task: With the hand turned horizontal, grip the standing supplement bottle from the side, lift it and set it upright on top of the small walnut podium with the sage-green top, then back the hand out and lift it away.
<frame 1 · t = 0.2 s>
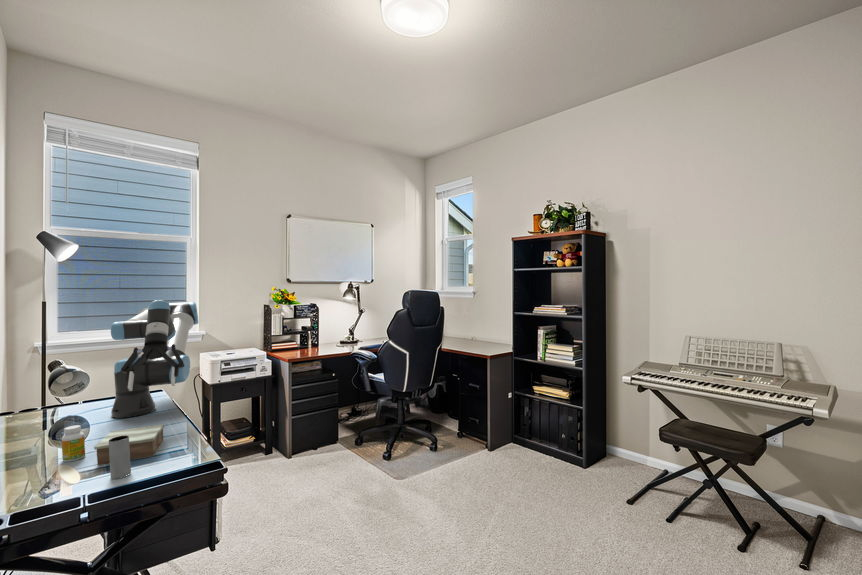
hand: (151, 387, 159), 15 cm above the table, tool tilted 35°, fingers open, 13 cm apart
grey hollow cylinder: (121, 476, 119), on the table
supplement bottle: (74, 459, 133), on the table
podium: (132, 452, 136), on the table
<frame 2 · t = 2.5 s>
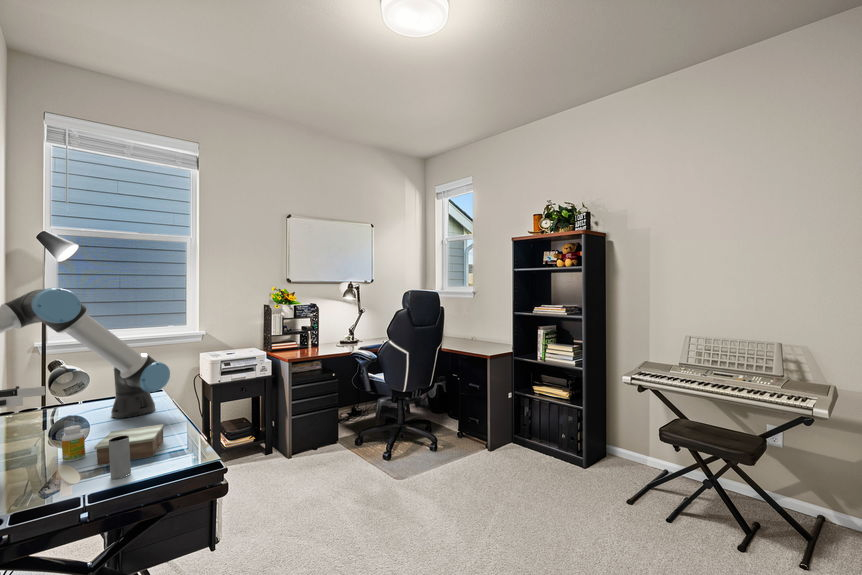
hand: (34, 395, 130), 21 cm above the table, tool horizontal, fingers open, 13 cm apart
nothing on the table moved.
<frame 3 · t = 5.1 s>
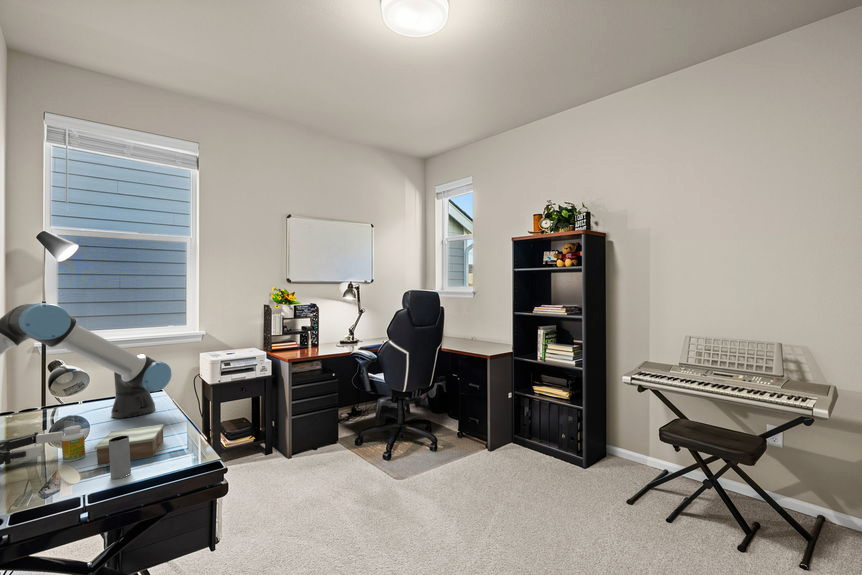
hand: (52, 443, 131), 6 cm above the table, tool horizontal, fingers open, 13 cm apart
nothing on the table moved.
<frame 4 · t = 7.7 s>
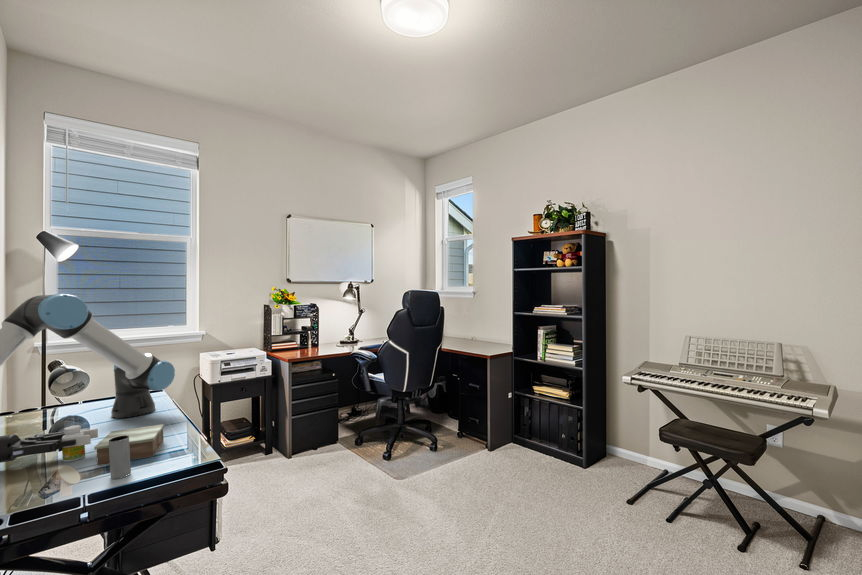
hand: (93, 436, 135), 6 cm above the table, tool horizontal, fingers closed on supplement bottle, 5 cm apart
supplement bottle: (74, 459, 133), on the table, touching gripper
everything else where it was.
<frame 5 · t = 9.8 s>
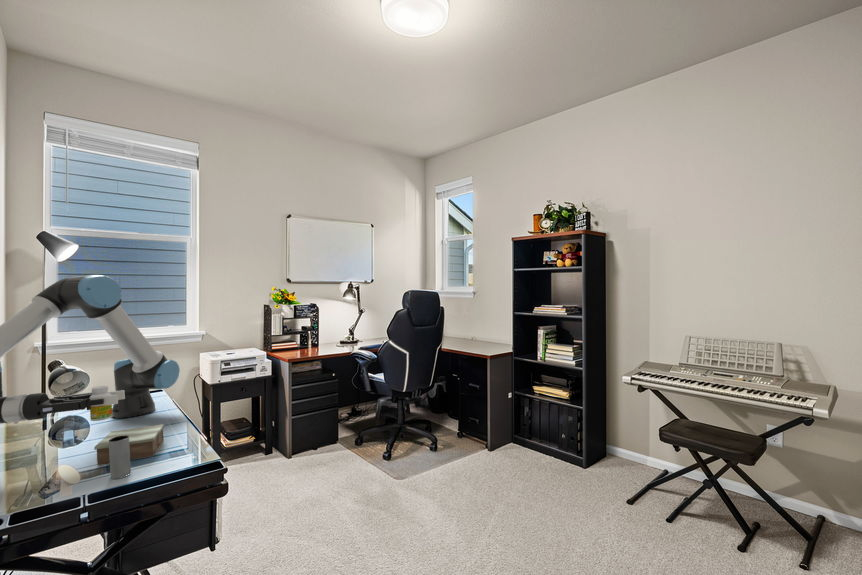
hand: (120, 396, 135), 18 cm above the table, tool horizontal, fingers closed on supplement bottle, 5 cm apart
supplement bottle: (101, 419, 133), point 12 cm above the table, touching gripper
everything else where it was.
when the fingers open (12 cm above the table, at t = 11.9 s): supplement bottle stays where it is, resting on podium.
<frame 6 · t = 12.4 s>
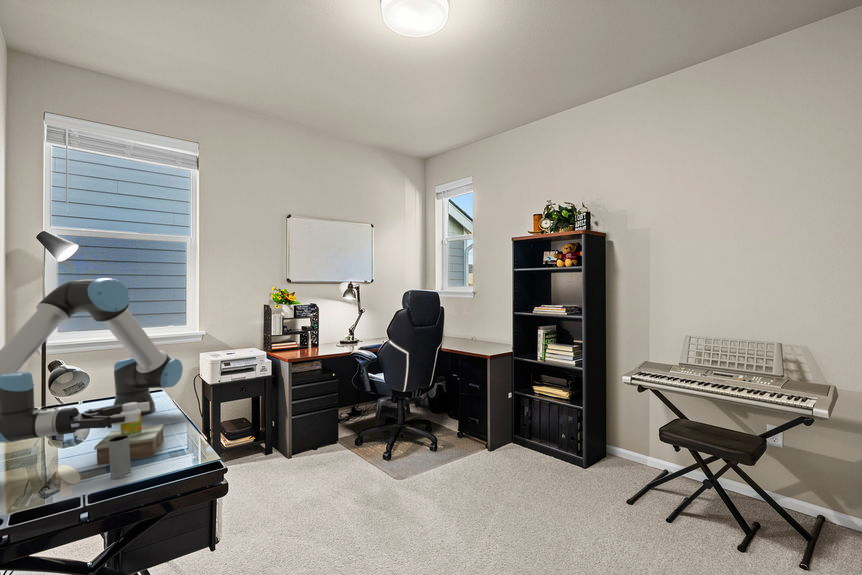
hand: (144, 411, 137), 12 cm above the table, tool horizontal, fingers open, 12 cm apart
supplement bottle: (131, 435, 136), point 5 cm above the table, touching podium
everything else where it was.
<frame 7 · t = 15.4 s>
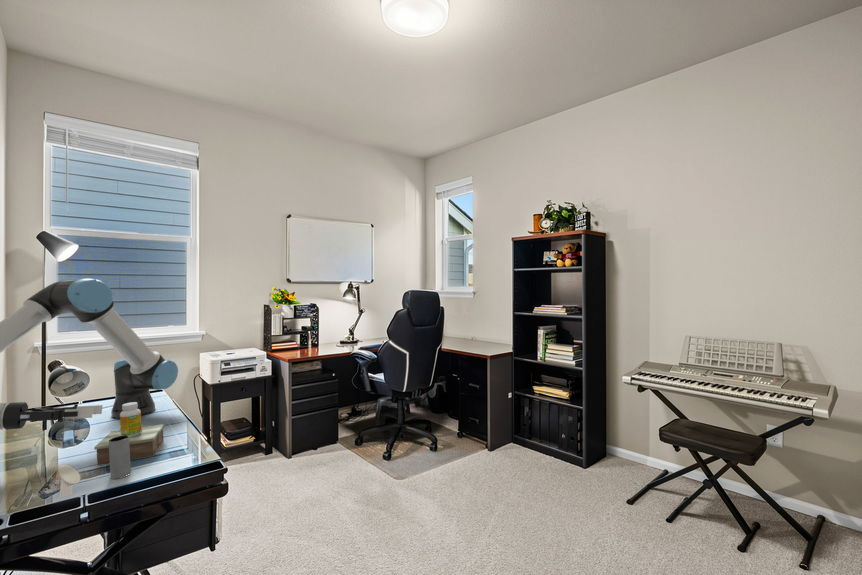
hand: (97, 411, 135), 14 cm above the table, tool horizontal, fingers open, 13 cm apart
nothing on the table moved.
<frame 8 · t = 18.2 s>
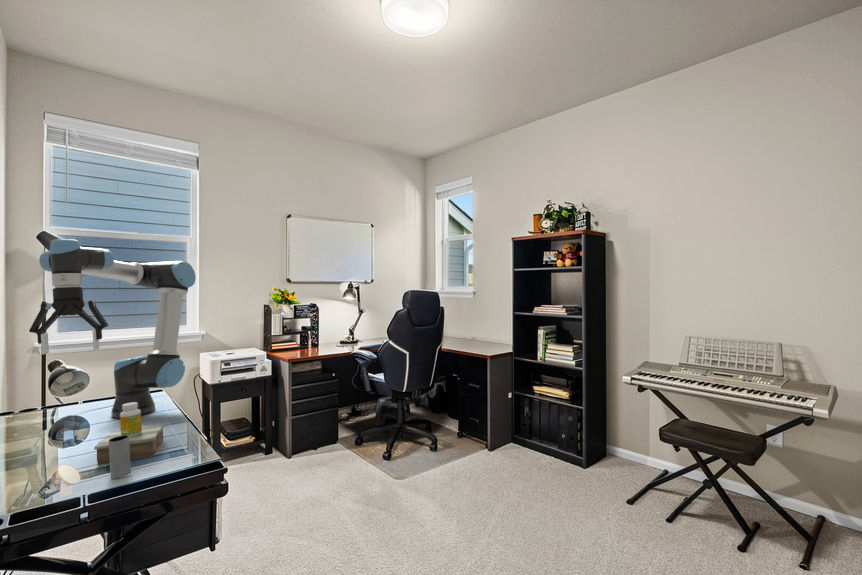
hand: (71, 351, 142), 32 cm above the table, tool pointing down, fingers open, 13 cm apart
nothing on the table moved.
at the end: supplement bottle inside the target area on the podium (0.1 cm from its centre), point 5.4 cm above the podium's base; supplement bottle tilted 0°; the gripper is holding nothing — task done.
